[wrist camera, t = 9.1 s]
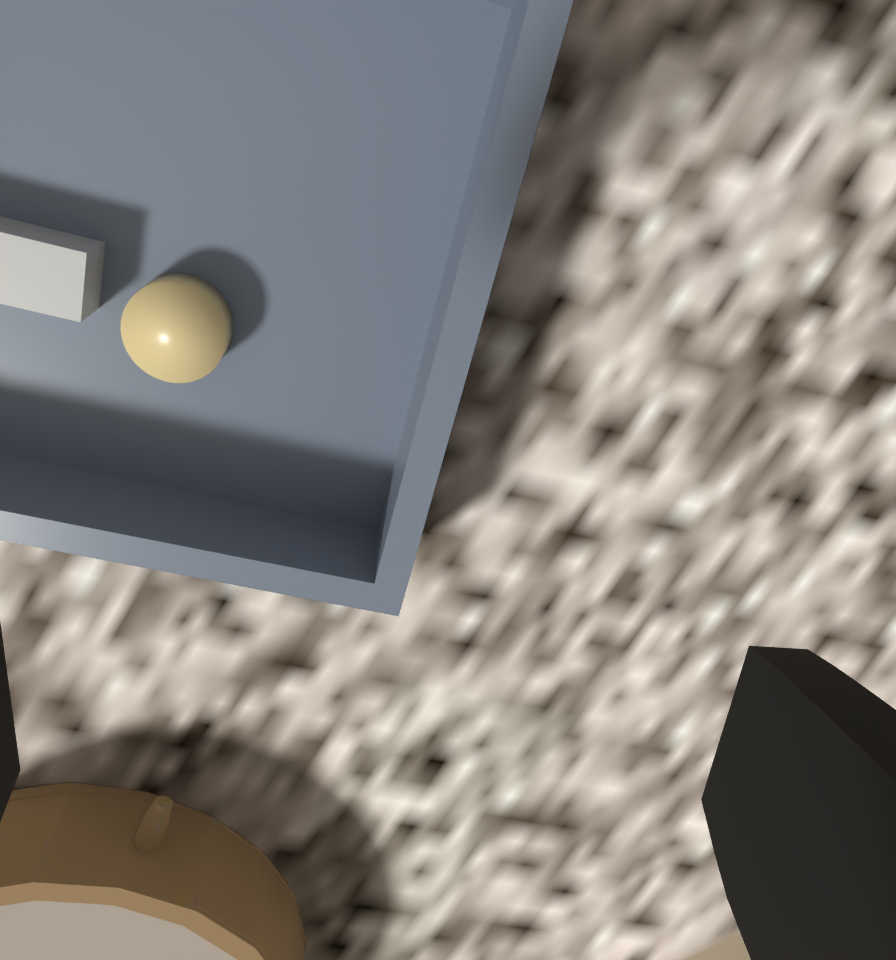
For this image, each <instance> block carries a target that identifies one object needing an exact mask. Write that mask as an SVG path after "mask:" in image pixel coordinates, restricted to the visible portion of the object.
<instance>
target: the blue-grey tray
mask: <svg viewBox="0 0 896 960" xmlns="http://www.w3.org/2000/svg"><path fill="white" fill-rule="evenodd" d="M573 1H574V0H0V540H2V541H7V542H13V543H18V544H23V545H28V546H34V547H39V548H44V549H49V550H54V551H60V552H65V553H70V554H75V555H81V556H86V557H91V558H96V559H102V560H107V561H112V562H117V563H123V564H128V565H133V566H138V567H144V568H149V569H154V570H159V571H165V572H170V573H175V574H180V575H185V576H191V577H196V578H201V579H206V580H212V581H217V582H222V583H227V584H233V585H238V586H243V587H248V588H254V589H259V590H264V591H269V592H275V593H280V594H285V595H290V596H295V597H301V598H306V599H311V600H316V601H322V602H327V603H332V604H337V605H343V606H348V607H353V608H358V609H364V610H369V611H374V612H379V613H385V614H390V615H395V616H399V613H400V609H401V606H402V602H403V599H404V595H405V592H406V588H407V585H408V581H409V578H410V574H411V571H412V567H413V564H414V560H415V557H416V553H417V550H418V546H419V543H420V539H421V535H422V532H423V528H424V525H425V521H426V518H427V514H428V511H429V507H430V504H431V500H432V497H433V493H434V490H435V486H436V483H437V479H438V476H439V472H440V469H441V465H442V462H443V458H444V455H445V451H446V448H447V444H448V441H449V437H450V433H451V430H452V426H453V423H454V419H455V416H456V412H457V409H458V405H459V402H460V398H461V395H462V391H463V388H464V384H465V381H466V377H467V374H468V370H469V367H470V363H471V360H472V356H473V353H474V349H475V346H476V342H477V339H478V335H479V331H480V328H481V324H482V321H483V317H484V314H485V310H486V307H487V303H488V300H489V296H490V293H491V289H492V286H493V282H494V279H495V275H496V272H497V268H498V265H499V261H500V258H501V254H502V251H503V247H504V244H505V240H506V237H507V233H508V229H509V226H510V222H511V219H512V215H513V212H514V208H515V205H516V201H517V198H518V194H519V191H520V187H521V184H522V180H523V177H524V173H525V170H526V166H527V163H528V159H529V156H530V152H531V149H532V145H533V142H534V138H535V135H536V131H537V127H538V124H539V120H540V117H541V113H542V110H543V106H544V103H545V99H546V96H547V92H548V89H549V85H550V82H551V78H552V75H553V71H554V68H555V64H556V61H557V57H558V54H559V50H560V47H561V43H562V40H563V36H564V33H565V29H566V25H567V22H568V18H569V15H570V11H571V8H572V4H573Z"/></svg>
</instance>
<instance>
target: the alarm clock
mask: <svg viewBox="0 0 896 960" xmlns="http://www.w3.org/2000/svg"><path fill="white" fill-rule="evenodd" d="M305 945H306V937H305V933H304V929H303V924H302V920H301V916H300V911H299V907H298V903H297V899H296V895H295V893H294V892H293V891H292V889H291V888H290V887H289V885H288V884H287V883H286V881H285V880H284V879H283V877H282V876H281V874H280V873H279V872H278V870H277V869H276V868H275V866H274V865H273V864H272V862H271V861H270V860H269V858H268V857H267V856H266V854H265V853H264V852H263V851H261V850H260V849H259V848H257V847H256V846H254V845H253V844H252V843H250V842H249V841H247V840H246V839H244V838H243V837H242V836H240V835H239V834H237V833H236V832H235V831H233V830H232V829H230V828H229V827H227V826H226V825H225V824H223V823H222V822H220V821H219V820H218V819H216V818H215V817H213V816H211V815H208V814H205V813H203V812H200V811H197V810H195V809H192V808H189V807H187V806H184V805H181V804H178V803H176V802H173V801H172V799H171V798H169V797H167V796H163V795H162V796H157V795H154V794H152V793H149V792H145V791H137V790H130V789H122V788H114V787H106V786H98V785H91V784H83V783H75V782H70V783H60V784H51V785H43V786H36V787H29V788H23V789H16V790H12V793H11V795H10V798H9V801H8V803H7V806H6V809H5V811H4V814H3V816H2V819H1V822H0V960H303V954H304V949H305Z"/></svg>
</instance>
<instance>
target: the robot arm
mask: <svg viewBox="0 0 896 960" xmlns="http://www.w3.org/2000/svg"><path fill="white" fill-rule="evenodd" d="M19 772H20V764H19V757H18V749H17V742H16V735H15V727H14V720H13V712H12V705H11V698H10V690H9V683H8V676H7V668H6V661H5V653H4V646H3V639H2V631H1V624H0V822H1V819H2V816H3V814H4V811H5V809H6V806H7V803H8V801H9V798H10V795H11V793H12V790H13V788H14V785H15V782H16V780H17V777H18V775H19ZM701 800H702V804H703V808H704V812H705V816H706V820H707V824H708V828H709V832H710V836H711V840H712V845H713V849H714V853H715V856H716V860H717V863H718V867H719V871H720V874H721V878H722V881H723V885H724V888H725V892H726V896H727V899H728V902H729V904H730V907H731V909H732V912H733V915H734V917H735V920H736V923H737V925H738V928H739V930H740V933H741V935H742V938H743V940H744V943H745V945H746V948H747V950H748V953H749V955H750V958H751V960H896V710H895V709H894V708H892V707H891V706H890V705H888V704H887V703H885V702H884V701H883V700H881V699H880V698H879V697H877V696H876V695H874V694H873V693H872V692H870V691H869V690H868V689H866V688H865V687H863V686H862V685H861V684H859V683H858V682H856V681H855V680H854V679H852V678H851V677H849V676H848V675H846V674H845V673H844V672H842V671H841V670H839V669H838V668H836V667H835V666H833V665H832V664H830V663H829V662H827V661H826V660H824V659H822V658H821V657H819V656H818V655H816V654H814V653H813V652H811V651H809V650H808V649H792V648H776V647H759V646H749V648H748V651H747V654H746V657H745V661H744V664H743V667H742V670H741V674H740V677H739V680H738V683H737V686H736V690H735V693H734V696H733V699H732V703H731V706H730V709H729V712H728V715H727V719H726V722H725V725H724V728H723V732H722V735H721V738H720V741H719V744H718V748H717V751H716V754H715V757H714V761H713V764H712V767H711V770H710V773H709V777H708V780H707V783H706V786H705V789H704V793H703V796H702V799H701Z"/></svg>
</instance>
